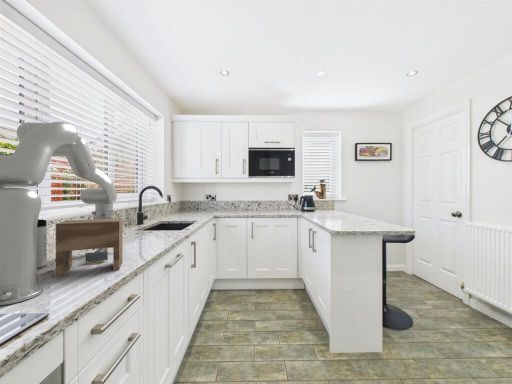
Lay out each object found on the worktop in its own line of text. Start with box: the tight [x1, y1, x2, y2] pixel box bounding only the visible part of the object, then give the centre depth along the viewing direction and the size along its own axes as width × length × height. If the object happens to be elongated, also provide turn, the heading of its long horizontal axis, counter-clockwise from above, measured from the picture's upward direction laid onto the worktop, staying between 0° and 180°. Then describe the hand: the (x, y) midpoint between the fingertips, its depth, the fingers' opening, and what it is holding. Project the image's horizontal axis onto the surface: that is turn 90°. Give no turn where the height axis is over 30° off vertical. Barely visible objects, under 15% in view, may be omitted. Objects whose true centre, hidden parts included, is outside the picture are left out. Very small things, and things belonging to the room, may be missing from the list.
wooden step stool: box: [55, 218, 124, 278], centre depth 97 cm, size 13×20×19 cm, turn 113°
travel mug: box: [36, 218, 48, 271], centre depth 98 cm, size 6×7×20 cm
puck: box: [87, 260, 106, 265], centre depth 107 cm, size 6×6×2 cm
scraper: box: [85, 248, 109, 263], centre depth 114 cm, size 19×8×7 cm, turn 23°
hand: (104, 248), depth 122 cm, fingers open, 8 cm apart
